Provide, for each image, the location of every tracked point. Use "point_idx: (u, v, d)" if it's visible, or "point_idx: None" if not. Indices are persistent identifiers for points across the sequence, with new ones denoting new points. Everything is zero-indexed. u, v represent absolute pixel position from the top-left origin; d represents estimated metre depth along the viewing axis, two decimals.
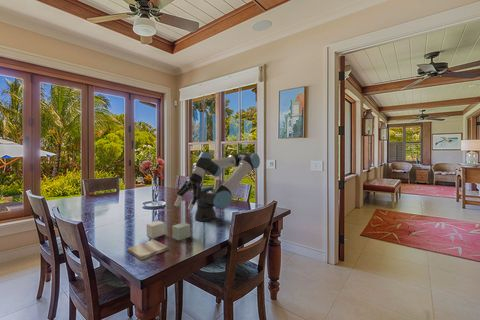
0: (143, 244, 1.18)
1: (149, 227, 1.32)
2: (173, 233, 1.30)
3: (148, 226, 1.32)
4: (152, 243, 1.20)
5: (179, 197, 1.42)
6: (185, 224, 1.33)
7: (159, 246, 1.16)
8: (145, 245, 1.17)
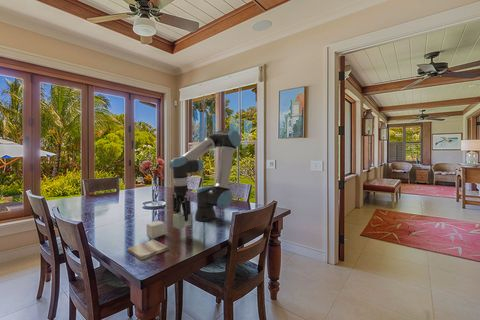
0: (143, 244, 1.18)
1: (149, 227, 1.32)
2: (174, 222, 1.30)
3: (148, 226, 1.32)
4: (152, 243, 1.20)
5: None
6: None
7: (159, 246, 1.16)
8: (145, 245, 1.17)
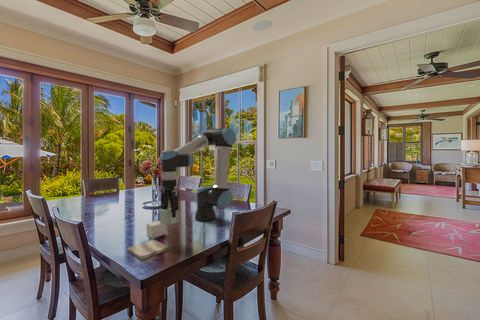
0: (143, 244, 1.18)
1: (149, 227, 1.32)
2: (160, 218, 1.23)
3: (148, 226, 1.32)
4: (152, 243, 1.20)
5: None
6: None
7: (159, 246, 1.16)
8: (145, 245, 1.17)
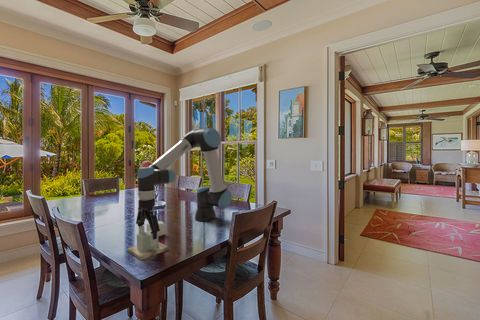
0: None
1: (149, 227, 1.32)
2: (138, 243, 1.13)
3: (148, 226, 1.32)
4: None
5: (140, 228, 1.18)
6: None
7: (159, 246, 1.16)
8: None
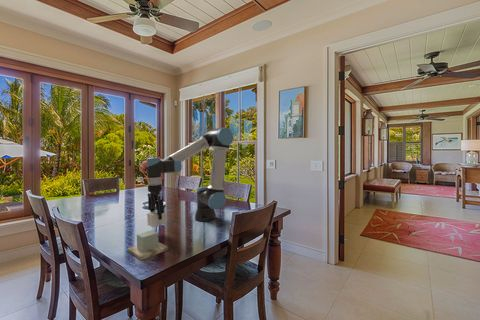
0: None
1: (150, 216, 1.32)
2: (138, 243, 1.13)
3: (149, 215, 1.32)
4: None
5: None
6: (152, 232, 1.16)
7: (159, 246, 1.16)
8: None
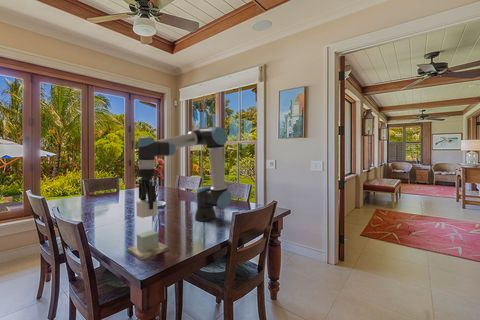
0: None
1: (139, 204, 1.13)
2: (138, 243, 1.13)
3: (139, 203, 1.13)
4: None
5: None
6: (152, 232, 1.16)
7: (159, 246, 1.16)
8: None
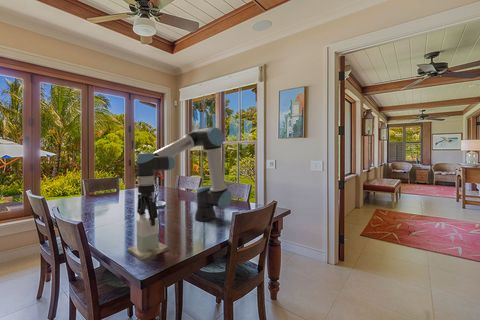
0: None
1: (139, 224, 1.11)
2: (138, 243, 1.13)
3: (139, 223, 1.11)
4: None
5: (141, 217, 1.17)
6: None
7: (159, 246, 1.16)
8: None
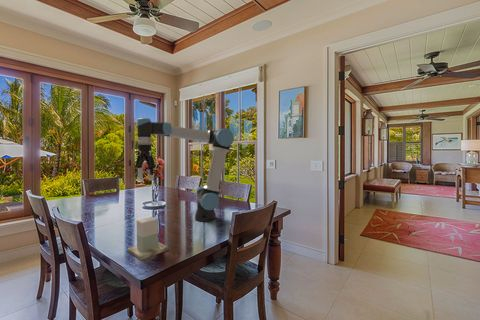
0: None
1: (139, 224, 1.11)
2: (138, 243, 1.13)
3: (139, 223, 1.11)
4: None
5: (139, 169, 1.44)
6: None
7: (159, 246, 1.16)
8: None
